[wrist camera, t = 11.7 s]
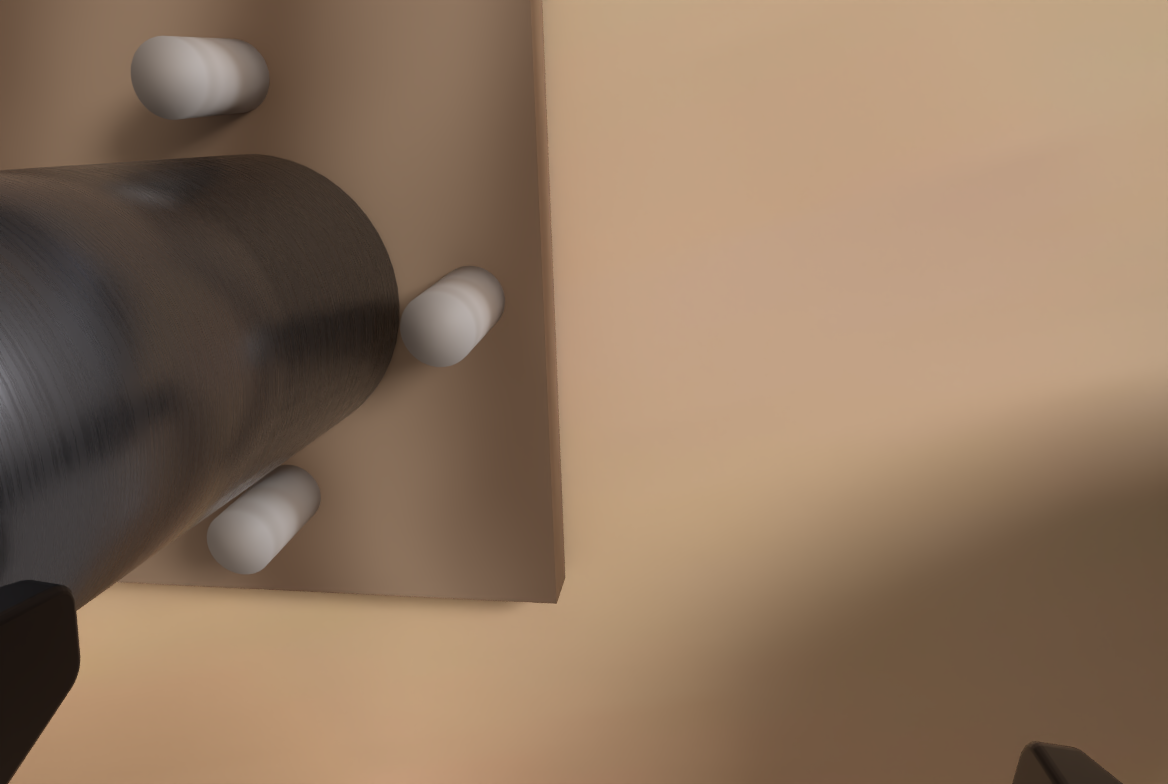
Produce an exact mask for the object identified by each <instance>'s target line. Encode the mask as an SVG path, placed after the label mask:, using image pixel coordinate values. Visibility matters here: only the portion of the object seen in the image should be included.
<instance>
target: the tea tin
mask: <svg viewBox="0 0 1168 784" xmlns="http://www.w3.org/2000/svg"><path fill="white" fill-rule="evenodd" d="M399 314H400V305H399V294H398V286H397V282H396V277H395V273H394V269H393V266H392V263H391V260H390V257H389V255H388V252H387V249H386V247H385V245H384V243H383V241H382V239H381V237H380V235H379V233H378V232H377V230H376V229H375V227H374V226H373V224H372V223H371V221H370V220H369V218H368V216H367V215H366V214H365V213H364V212H363V210H362V209H361V208H360V207H359V206H358V205H357V203H356V202H355V201H354V200H353V199H352V198H351V197H350V196H349V195H348V194H346V193H345V192H344V191H343V190H342V189H341V188H340V187H339V186H337V185H336V184H334V183H333V182H332V181H330V180H329V179H328V178H326V177H325V176H323V175H321V174H320V173H318V172H316V171H314V170H312V169H310V168H309V167H306V166H304V165H301V164H299V163H296V162H294V161H291V160H288V159H284V158H279V157H275V156H271V155H260V154H239V155H223V156H208V157H192V158H177V159H162V160H147V161H131V162H116V163H101V164H86V165H70V166H55V167H40V168H25V169H9V170H0V587H2V586H5V585H8V584H12V583H15V582H18V581H22V580H36V581H42V582H48V583H54V584H60V585H64V586H66V587H68V588H69V589H70V590H71V591H72V593H73V595H74V598H75V603H76V611H77V610H78V609H80V608H81V607H83V606H84V605H85V604H87V603H88V602H89V601H91V600H92V599H94V598H95V597H96V596H98V595H99V594H101V593H102V592H103V591H105V590H106V589H108V588H109V587H110V586H112V585H113V584H115V583H116V582H117V581H119V580H120V579H122V578H123V577H124V576H126V575H127V574H129V573H130V572H131V571H133V570H134V569H136V568H137V567H138V566H140V565H141V564H143V563H144V562H145V561H147V560H148V559H149V558H151V557H152V556H154V555H155V554H156V553H158V552H159V551H161V550H162V549H163V548H165V547H166V546H168V545H169V544H170V543H172V542H173V541H175V540H176V539H177V538H179V537H180V536H182V535H183V534H184V533H186V532H187V531H189V530H190V529H191V528H193V527H194V526H196V525H197V524H198V523H200V522H201V521H203V520H204V519H205V518H207V517H208V516H209V515H211V514H212V513H214V512H215V511H216V510H218V509H219V508H221V507H222V506H223V505H225V504H226V503H228V502H229V501H230V500H232V499H233V498H235V497H236V496H237V495H239V494H240V493H242V492H243V491H244V490H246V489H247V488H249V487H250V486H251V485H253V484H254V483H256V482H257V481H258V480H260V479H261V478H263V477H264V476H265V475H267V474H268V473H269V472H271V471H272V470H274V469H275V468H276V467H278V466H279V465H281V464H282V463H283V462H285V461H286V460H288V459H289V458H290V457H292V456H293V455H295V454H296V453H297V452H299V451H300V450H302V449H303V448H304V447H306V446H307V445H309V444H310V443H311V442H313V441H314V440H316V439H317V438H318V437H320V436H321V435H323V434H324V433H325V432H327V431H328V430H329V429H331V428H332V427H334V426H335V425H336V424H338V423H339V422H341V421H342V420H343V419H345V418H346V417H348V416H349V415H350V414H352V413H353V412H354V411H355V410H356V409H358V408H359V407H360V406H361V405H362V404H363V403H364V402H365V401H366V400H367V399H368V398H369V397H370V395H371V394H372V393H373V392H374V391H375V389H376V388H377V386H378V385H379V383H380V382H381V380H382V378H383V377H384V375H385V373H386V371H387V368H388V366H389V364H390V362H391V359H392V356H393V353H394V349H395V346H396V342H397V336H398V330H399Z"/></svg>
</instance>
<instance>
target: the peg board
mask: <svg viewBox="0 0 1168 784" xmlns="http://www.w3.org/2000/svg"><path fill="white" fill-rule="evenodd" d="M239 154H260V155H271V156H275V157H279V158H284V159H288V160H291V161H294V162H296V163H299V164H301V165H304V166H306V167H309V168H310V169H312V170H314V171H316V172H318V173H320V174H321V175H323V176H325V177H326V178H328V179H329V180H330V181H332V182H333V183H334V184H336V185H337V186H339V187H340V188H341V189H342V190H343V191H344V192H345V193H346V194H348V195H349V196H350V197H351V198H352V199H353V200H354V201H355V202H356V203H357V205H358V206H359V207H360V208H361V209H362V210H363V212H364V213H365V214H366V215H367V216H368V218H369V220H370V221H371V223H372V224H373V226H374V227H375V229H376V230H377V232H378V233H379V235H380V237H381V239H382V241H383V243H384V245H385V247H386V249H387V252H388V255H389V257H390V260H391V263H392V266H393V269H394V273H395V277H396V282H397V286H398V294H399V305H400V314H399V330H398V336H397V342H396V346H395V349H394V353H393V356H392V359H391V362H390V364H389V366H388V368H387V371H386V373H385V375H384V377H383V378H382V380H381V382H380V383H379V385H378V386H377V388H376V389H375V391H374V392H373V393H372V394H371V395H370V397H369V398H368V399H367V400H366V401H365V402H364V403H363V404H362V405H361V406H360V407H359V408H358V409H356V410H355V411H354V412H353V413H352V414H350V415H349V416H348V417H346V418H345V419H343V420H342V421H341V422H339V423H338V424H336V425H335V426H334V427H332V428H331V429H329V430H328V431H327V432H325V433H324V434H323V435H321V436H320V437H318V438H317V439H316V440H314V441H313V442H311V443H310V444H309V445H307V446H306V447H304V448H303V449H302V450H300V451H299V452H297V453H296V454H295V455H293V456H292V457H290V458H289V459H288V460H286V461H285V462H283V463H282V464H281V465H279V466H278V467H276V468H275V469H274V470H272V471H271V472H269V473H268V474H267V475H265V476H264V477H263V478H261V479H260V480H258V481H257V482H256V483H254V484H253V485H251V486H250V487H249V488H247V489H246V490H244V491H243V492H242V493H240V494H239V495H237V496H236V497H235V498H233V499H232V500H230V501H229V502H228V503H226V504H225V505H223V506H222V507H221V508H219V509H218V510H216V511H215V512H214V513H212V514H211V515H209V516H208V517H207V518H205V519H204V520H203V521H201V522H200V523H198V524H197V525H196V526H194V527H193V528H191V529H190V530H189V531H187V532H186V533H184V534H183V535H182V536H180V537H179V538H177V539H176V540H175V541H173V542H172V543H170V544H169V545H168V546H166V547H165V548H163V549H162V550H161V551H159V552H158V553H156V554H155V555H154V556H152V557H151V558H149V559H148V560H147V561H145V562H144V563H143V564H141V565H140V566H138V567H137V568H136V569H134V570H133V571H131V572H130V573H129V574H127V575H126V576H124V577H123V578H122V579H120V580H119V581H117V582H126V583H147V584H167V585H187V586H208V587H228V588H249V589H269V590H289V591H310V592H330V593H351V594H371V595H391V596H412V597H432V598H453V599H473V600H493V601H514V602H534V603H555V604H557V601H558V598H559V595H560V592H561V589H562V586H563V583H564V580H565V559H564V534H563V509H562V484H561V459H560V434H559V409H558V384H557V359H556V334H555V309H554V284H553V259H552V234H551V209H550V184H549V159H548V134H547V110H546V84H545V60H544V35H543V10H542V0H0V170H9V169H25V168H40V167H55V166H70V165H86V164H101V163H116V162H131V161H147V160H162V159H177V158H192V157H208V156H223V155H239Z"/></svg>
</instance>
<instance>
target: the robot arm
mask: <svg viewBox="0 0 1168 784" xmlns="http://www.w3.org/2000/svg"><path fill="white" fill-rule="evenodd" d="M79 667H80V648H79V637H78V625H77V614H76V603H75V598H74V595H73V593H72V591H71V590H70V589H69V588H68V587H66V586H64V585H60V584H54V583H48V582H42V581H36V580H22V581H18V582H15V583H12V584H8V585H5V586H2V587H0V784H8V783H9V782H10V780H11V779H12V777H13V776H14V774H15V773H16V771H17V770H18V768H19V767H20V765H21V764H22V762H23V761H24V759H25V758H26V756H27V754H28V753H29V751H30V750H31V748H32V747H33V745H34V744H35V742H36V741H37V739H38V738H39V736H40V735H41V733H42V732H43V730H44V729H45V727H46V726H47V724H48V723H49V721H50V720H51V718H52V717H53V715H54V714H55V712H56V711H57V709H58V708H59V706H60V705H61V703H62V702H63V700H64V699H65V697H66V696H67V694H68V693H69V691H70V690H71V688H72V686H73V684H74V682H75V680H76V678H77V675H78V672H79ZM1012 784H1122V783H1121V782H1120V781H1118V780H1117V779H1116V778H1115V777H1114V776H1112V775H1111V774H1110V773H1109V772H1107V771H1106V770H1105V769H1104V768H1102V767H1101V766H1100V765H1099V764H1097V763H1096V762H1095V761H1094V760H1092V759H1091V758H1090V757H1089V756H1087V755H1086V754H1085V753H1083V752H1082V751H1081V750H1079V749H1076V748H1073V747H1068V746H1062V745H1055V744H1049V743H1042V742H1031V743H1029V744H1028V745H1026V746H1025V748H1024V750H1023V751H1022V753H1021V756H1020V759H1019V762H1018V766H1017V769H1016V773H1015V776H1014V780H1013V783H1012Z"/></svg>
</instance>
